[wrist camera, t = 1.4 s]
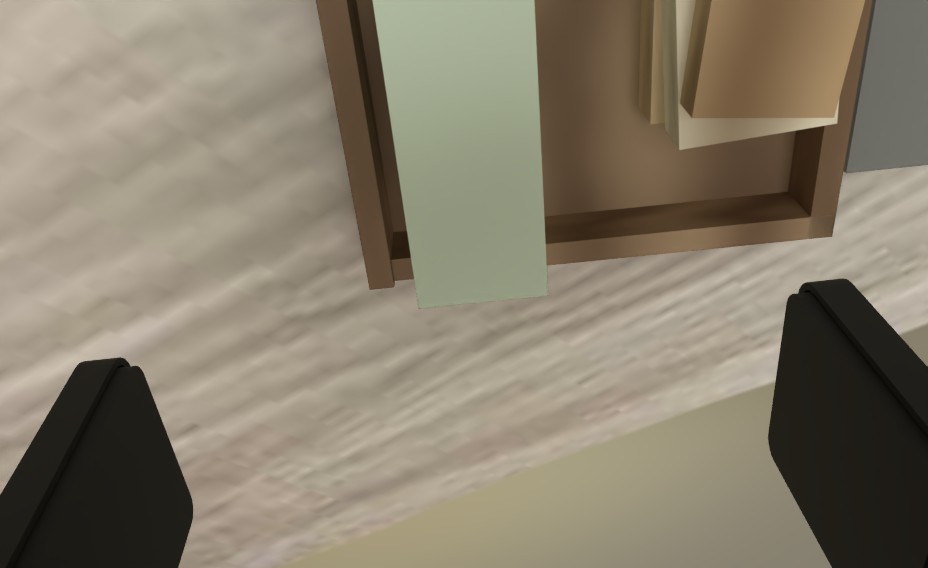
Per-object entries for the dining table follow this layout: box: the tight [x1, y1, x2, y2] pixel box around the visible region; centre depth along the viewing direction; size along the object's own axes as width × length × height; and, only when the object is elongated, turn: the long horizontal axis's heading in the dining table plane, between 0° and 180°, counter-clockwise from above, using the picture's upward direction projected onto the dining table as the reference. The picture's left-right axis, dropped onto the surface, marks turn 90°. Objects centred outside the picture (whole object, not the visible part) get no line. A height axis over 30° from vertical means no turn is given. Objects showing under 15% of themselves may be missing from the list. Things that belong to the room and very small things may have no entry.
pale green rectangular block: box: [373, 0, 548, 309], centre depth 26 cm, size 4×12×10 cm, turn 6°
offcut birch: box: [661, 0, 839, 150], centre depth 27 cm, size 6×8×2 cm
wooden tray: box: [316, 0, 872, 290], centre depth 29 cm, size 19×19×4 cm
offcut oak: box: [639, 0, 665, 124], centre depth 29 cm, size 6×8×2 cm
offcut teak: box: [680, 0, 865, 118], centre depth 26 cm, size 5×6×2 cm
